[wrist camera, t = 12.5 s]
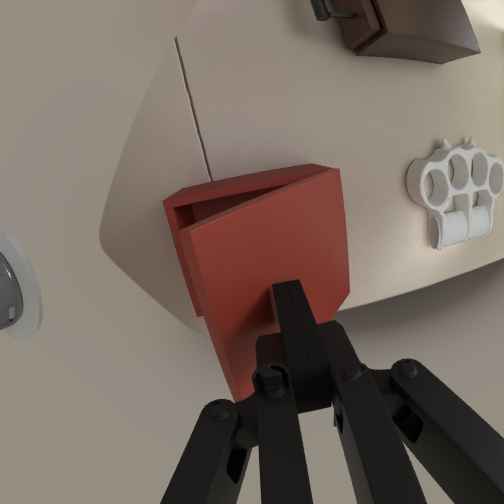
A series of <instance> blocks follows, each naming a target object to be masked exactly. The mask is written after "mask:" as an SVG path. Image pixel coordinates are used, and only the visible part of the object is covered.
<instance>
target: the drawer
mask: <svg viewBox="0 0 504 504" xmlns="http://www.w3.org/2000/svg"><path fill="white" fill-rule="evenodd" d="M310 1H311V4H312V7H313V10H314V13H315V16H316V19H317V20H318V21H326V20H329V19H330V18H338V19H339V22H340V25H341V28H342V32H343V35H344V38H345V42H346V45H347V48H348V49H357V48H359V47H360V46H361V45H362V44H364V43H365V42H366V41H367V40H369V39H370V38H371V37H372V36H374V35H375V34H376V33H378V32H379V31H380V30H381V29H382V28H383V27H382V24H381V21H380V19H379V16H378V13H377V10H376V8H375V5H374V3H373V0H332V2H333V5H334V8H335V10H336V12H328V9H327V7H326V4H325V1H324V0H310Z"/></svg>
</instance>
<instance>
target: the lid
mask: <svg viewBox="0 0 504 504" xmlns="http://www.w3.org/2000/svg"><path fill="white" fill-rule="evenodd" d="M179 235H180V239H181V243H182V246H183V250H184V253H185V257H186V260H187V264H188V267H189V271H190V274H191V277H192V281H193V284H194V287H195V290H196V294H197V297H198V300H199V303H200V306H201V309H202V312H203V315H204V319H205V322H206V325H207V328H208V331H209V333H210V336H211V339H212V342H213V345H214V348H215V351H216V353H217V356H218V359H219V362H220V365H221V367H222V370H223V373H224V375H225V378H226V381H227V384H228V386H229V389H230V391H231V394H232V396H233V399H234V402H235V403H236V402H238V401H241V400H243V399H245V398H247V397H249V396H250V395H251V394H253V392H254V391H255V389H254V386H253V383H252V379H251V378H252V374H253V372H254V371H255V370H256V368H257V365H256V346H255V343H256V341H257V340H258V338H259V336H261V335H267V334H273V333H278V332H281V331H280V325H279V320H278V314H277V309H276V303H275V298H274V292H273V287H272V284H276V283H281V282H286V281H291V280H296V279H300V282H301V284H302V287H303V289H304V292H305V295H306V297H307V300H308V302H309V305H310V307H311V310H312V312H313V315H314V318H315V320H316V323H317V324H319V323H324V322H328V321H330V320H331V318H332V317H333V316H334V314H335V313H336V312H337V310H338V309H339V307H340V306H341V305H342V303H343V302H344V300H345V299H346V297H347V296H348V295H349V293H350V283H349V262H348V246H347V233H346V222H345V211H344V202H343V193H342V185H341V177H340V170H339V168H337V169H329V170H327V171H324V172H321V173H319V174H316V175H313V176H310V177H308V178H305V179H302V180H300V181H297V182H295V183H292V184H289V185H287V186H284V187H282V188H279V189H277V190H274V191H271V192H269V193H266V194H264V195H261V196H259V197H257V198H254V199H252V200H249V201H247V202H244V203H242V204H239V205H237V206H235V207H232V208H230V209H227V210H225V211H223V212H220V213H218V214H216V215H213V216H211V217H209V218H206V219H204V220H202V221H199V222H197V223H195V224H193V225H190V226H188V227H186V228H184V229H181V230H180V231H179Z"/></svg>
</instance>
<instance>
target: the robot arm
mask: <svg viewBox="0 0 504 504" xmlns="http://www.w3.org/2000/svg"><path fill="white" fill-rule="evenodd" d="M272 287H273V292H274V298H275V303H276V309H277V314H278V320H279V325H280V331H281V332H278V333H273V334H267V335H261V336H259V338H258V340H257V341H256V343H255V346H256V365H257V368H256V370H255V371H254V372H253V374H252V378H251V379H252V383H253V386H254V389H255V391H254V392H253V394H251V395H250V396H249V397H247V398H245V399H243V400H241V401H238V402H236V403H233V402H232V401H230V400H227V399H217V400H214V401H211V402H210V403H208V404H207V405H205V407H204V408H203V410H202V411H201V414H200V416H199V419H198V421H197V423H196V425H195V427H194V430H193V432H192V434H191V436H190V439H189V441H188V443H187V446H186V448H185V450H184V452H183V454H182V457H181V459H180V461H179V463H178V466H177V468H176V470H175V472H174V474H173V477H172V479H171V481H170V483H169V485H168V487H167V490H166V492H165V494H164V496H163V499H162V500H161V503H160V504H236V502H237V499H238V496H239V493H240V489H241V486H242V482H243V479H244V476H245V472H246V468H247V465H248V461H249V458H250V454H251V450H252V448H253V447H255V446H259V466H260V483H261V484H260V485H261V503H262V504H313V499H312V494H311V488H310V482H309V476H308V470H307V464H306V458H305V453H304V447H303V441H302V436H301V430H300V425H299V420H298V414H300V413H304V412H309V411H314V410H319V409H323V408H328V407H331V401H332V404H333V408H334V426H337V429H338V433H339V436H340V440H341V444H342V447H343V451H344V454H345V458H346V462H347V465H348V469H349V473H350V477H351V481H352V484H353V489H354V492H355V496H356V500H357V504H427V502H426V499H425V497H424V494H423V491H422V489H421V486H420V484H419V481H418V478H417V476H416V473H415V471H414V469H413V466H412V463H411V461H410V459H409V456H408V454H407V451H406V449H405V447H404V444H403V442H404V443H405V445H406V446H407V447H408V448H409V450H410V451H411V452H412V453H413V454H414V456H415V457H416V458H417V459H418V460H419V462H420V463H421V464H422V465H423V466H424V468H425V469H426V470H427V471H428V472H429V474H430V475H431V476H432V477H433V478H434V480H435V481H436V482H437V483H438V484H439V486H440V487H441V488H442V489H443V490H444V492H445V493H446V494H447V495H448V496H449V497H450V499H451V500H452V501H453V502H454V504H504V438H503V437H502V436H500V435H499V433H497V432H496V431H495V430H494V429H493V428H492V427H491V426H490V425H489V424H488V423H487V422H486V421H485V420H484V419H482V418H481V417H480V416H479V415H478V414H477V413H476V412H475V411H474V410H473V409H472V408H471V407H469V406H468V405H467V404H466V403H465V402H464V401H463V400H462V399H461V398H459V397H458V396H457V395H456V394H455V393H454V392H453V391H452V390H451V389H449V388H448V387H447V386H446V385H445V384H444V383H443V382H442V381H441V380H439V379H438V378H437V377H436V376H435V375H434V374H433V373H431V372H430V371H429V370H428V369H427V368H426V367H425V366H423V365H422V364H421V363H420V362H418V361H416V360H414V359H401V360H399V361H397V362H396V363H394V364H393V366H392V368H391V369H387V370H374V369H370V368H368V367H367V366H366V365H365V364H363V363H361V362H360V361H359V359H358V357H357V355H356V353H355V350H354V348H353V346H352V345H351V342H350V340H349V339H348V336H347V334H346V332H345V330H344V328H343V326H342V325H341V324H339V323H338V322H337V321H335V320H333V321H328V322H324V323H319V324H317V323H316V320H315V318H314V315H313V312H312V310H311V307H310V305H309V302H308V300H307V297H306V295H305V292H304V289H303V287H302V284H301V282H300V279H296V280H291V281H286V282H281V283H276V284H272ZM22 313H23V297H22V292H21V289H20V285H19V283H18V280H17V278H16V275H15V273H14V271H13V269H12V267H11V266H10V264H9V262H8V261H7V259H6V258H5V257H4V255H3V254H2V253H1V252H0V330H2V329H4V328H7V327H10V326H12V325H14V324H15V323H16V322H17V321H18V320H19V319H20V318H21V316H22ZM402 441H403V442H402Z"/></svg>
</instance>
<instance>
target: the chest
mask: <svg viewBox="0 0 504 504" xmlns="http://www.w3.org/2000/svg"><path fill="white" fill-rule="evenodd" d="M329 169H333V168H330V167H325V166H321V165H316V164H306V165H299V166H293V167H287V168H281V169H275V170H269V171H263V172H258V173H253V174H247V175H242V176H237V177H232V178H227V179H223V180H218V181H213V182H209V183H204V184H200V185H195V186H191V187H187V188H183V189H181V190H179V191H178V192H176V193H175V194H173V195H172V196H170V197H168V198H167V199H165V200H164V201H163V203H164V207H165V210H166V215H167V218H168V222H169V226H170V229H171V233H172V237H173V240H174V244H175V247H176V251H177V254H178V258H179V261H180V264H181V268H182V271H183V274H184V277H185V281H186V284H187V287H188V290H189V293H190V296H191V299H192V302H193V305H194V308H195V311H196V314H197V317H199V316H204V315H203V312H202V309H201V306H200V303H199V300H198V297H197V294H196V290H195V287H194V284H193V281H192V277H191V274H190V271H189V267H188V264H187V260H186V257H185V253H184V250H183V246H182V243H181V239H180V235H179V231H180V230H181V229H184V228H186V227H188V226H190V225H193V224H195V223H197V222H199V221H202V220H204V219H206V218H209V217H211V216H213V215H216V214H218V213H220V212H223V211H225V210H227V209H230V208H232V207H235V206H237V205H239V204H242V203H244V202H247V201H249V200H252V199H254V198H257V197H259V196H261V195H264V194H266V193H269V192H271V191H274V190H277V189H279V188H282V187H284V186H287V185H289V184H292V183H295V182H297V181H300V180H302V179H305V178H308V177H310V176H313V175H316V174H319V173H321V172H324V171H327V170H329Z"/></svg>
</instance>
